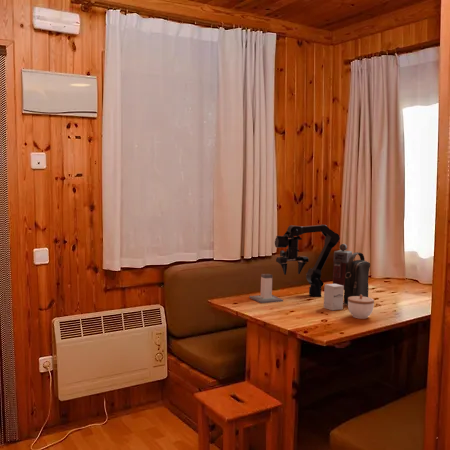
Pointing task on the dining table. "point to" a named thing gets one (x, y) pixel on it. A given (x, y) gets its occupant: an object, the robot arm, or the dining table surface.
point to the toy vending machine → (340, 264)
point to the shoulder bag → (356, 277)
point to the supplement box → (333, 296)
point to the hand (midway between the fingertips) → (292, 274)
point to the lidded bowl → (360, 306)
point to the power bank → (266, 286)
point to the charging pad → (268, 300)
